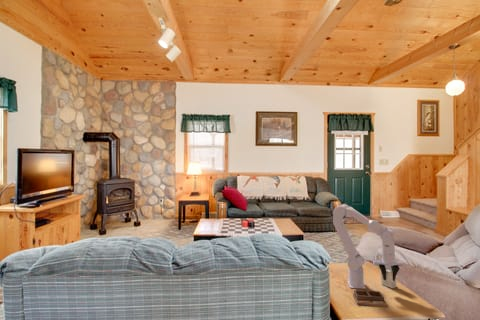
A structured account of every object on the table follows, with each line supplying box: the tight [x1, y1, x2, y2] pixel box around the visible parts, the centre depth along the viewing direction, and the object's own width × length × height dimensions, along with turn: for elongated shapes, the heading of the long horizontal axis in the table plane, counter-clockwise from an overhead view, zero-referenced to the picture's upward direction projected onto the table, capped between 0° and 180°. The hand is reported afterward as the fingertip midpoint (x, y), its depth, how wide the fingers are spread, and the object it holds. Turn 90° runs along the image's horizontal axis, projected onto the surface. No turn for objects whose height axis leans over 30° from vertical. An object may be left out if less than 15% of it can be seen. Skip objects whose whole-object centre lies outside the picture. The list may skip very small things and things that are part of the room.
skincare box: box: [380, 265, 397, 289], centre depth 153 cm, size 6×4×12 cm
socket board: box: [352, 289, 388, 307], centre depth 136 cm, size 9×13×3 cm
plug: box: [385, 270, 393, 285], centre depth 143 cm, size 4×4×6 cm
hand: (388, 279), depth 143 cm, fingers closed on plug, 4 cm apart
